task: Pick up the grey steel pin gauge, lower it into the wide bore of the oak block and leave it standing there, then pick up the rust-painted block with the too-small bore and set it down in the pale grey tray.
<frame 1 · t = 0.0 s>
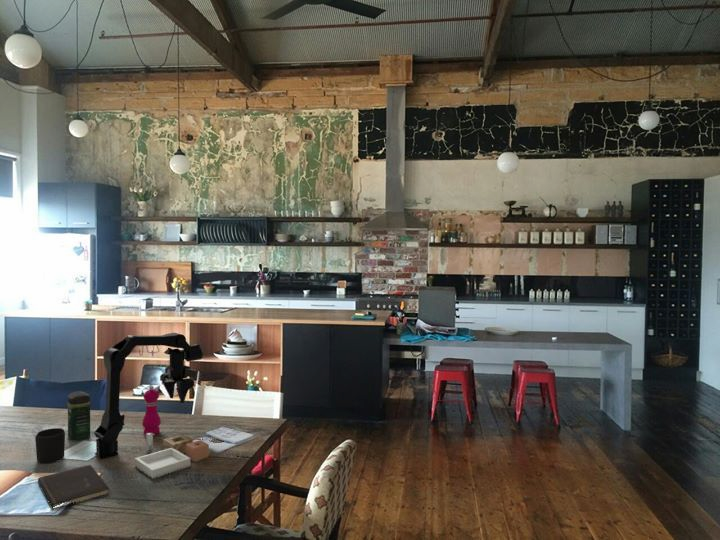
hand: (177, 400, 216), 15 cm above the table, tool pointing down, fingers open, 9 cm apart
tray: (162, 466, 186), on the table
rust block: (197, 457, 195), on the table
coffee jar: (79, 437, 213), on the table
hardcover book: (72, 490, 169), on the table
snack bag: (221, 442, 211), on the table
pin gauge: (149, 453, 198), on the table
pepper mill: (151, 433, 218), on the table
pen holder: (50, 459, 191), on the table
oak block: (178, 450, 201), on the table
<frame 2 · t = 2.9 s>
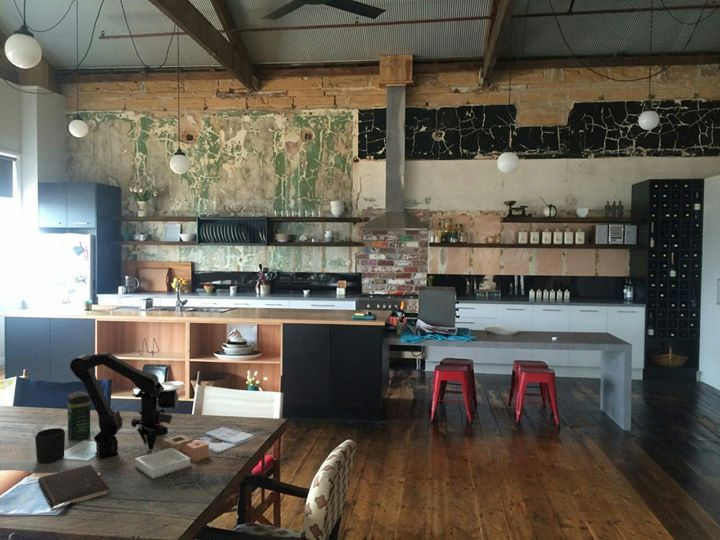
hand: (149, 448, 197), 2 cm above the table, tool pointing down, fingers closed on pin gauge, 2 cm apart
pin gauge: (149, 453, 198), on the table, touching gripper
everything else where it was.
when the fingers open (5 cm above the table, at t = 5.7 s): pin gauge drops 2 cm, resting on oak block.
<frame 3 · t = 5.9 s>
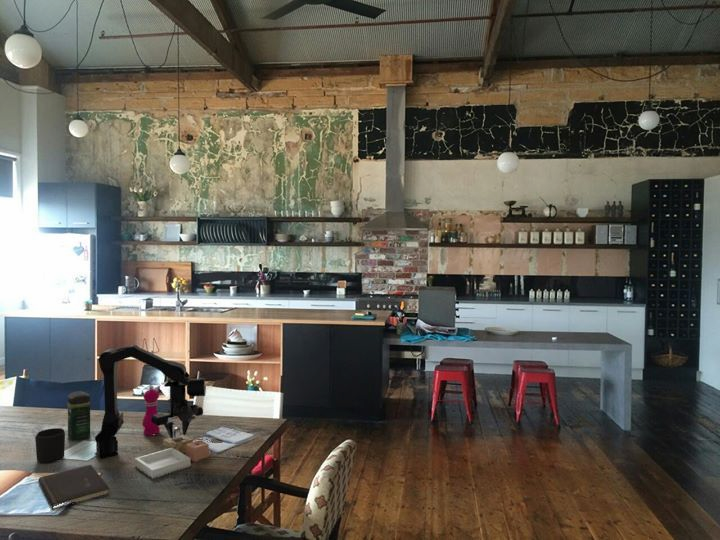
hand: (177, 436, 200), 5 cm above the table, tool pointing down, fingers open, 5 cm apart
pin gauge: (177, 446, 200), point 1 cm above the table, touching oak block
oak block: (178, 450, 201), on the table, touching pin gauge
everything else where it was.
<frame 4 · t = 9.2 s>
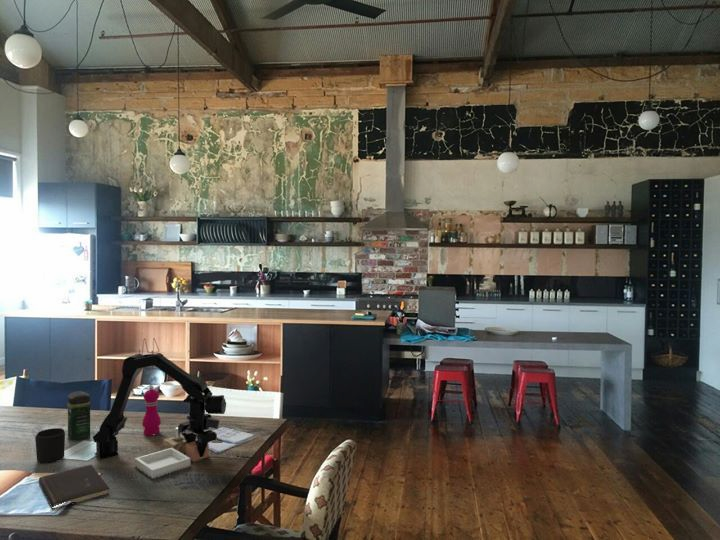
hand: (197, 454, 194), 1 cm above the table, tool pointing down, fingers closed on rust block, 6 cm apart
rust block: (197, 456, 194), on the table, touching gripper
everything else where it was.
when the fingers open (4 cm above the table, at t = 12.8 s): rust block drops 2 cm, resting on tray.
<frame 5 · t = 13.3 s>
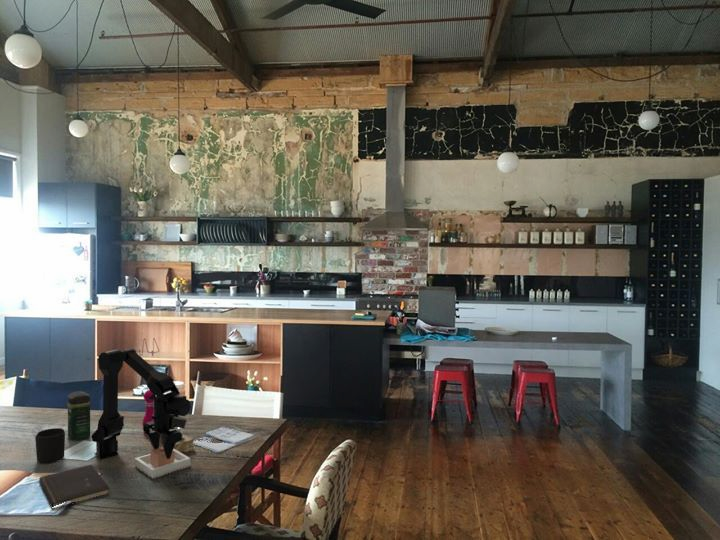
hand: (162, 455, 186), 4 cm above the table, tool pointing down, fingers open, 9 cm apart
rust block: (162, 464, 186), point 1 cm above the table, touching tray
everything else where it was.
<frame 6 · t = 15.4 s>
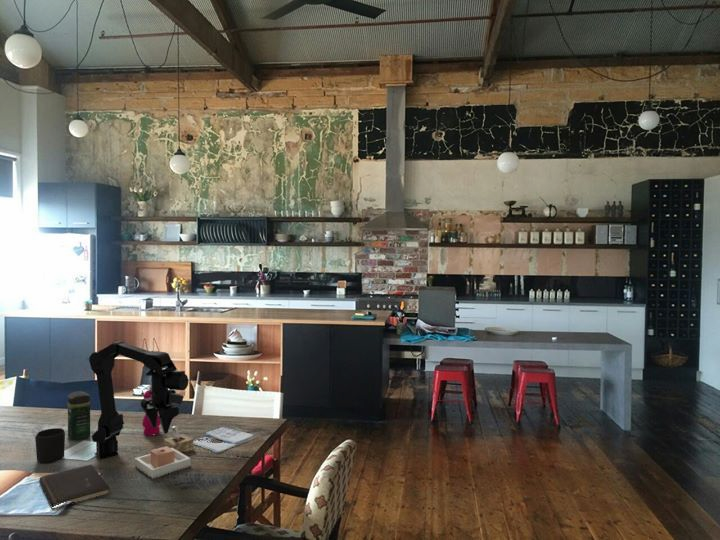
hand: (160, 430, 189), 12 cm above the table, tool pointing down, fingers open, 9 cm apart
pin gauge: (178, 445, 201), point 2 cm above the table, tilted 14°, touching oak block
everything else where it was.
at the end: rust block inside the target area on the tray (0.1 cm from its centre), point 0.8 cm above the tray's base; pin gauge 0.1 cm off-centre on the oak block, point 1.9 cm above the oak block's base; the gripper is holding nothing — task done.
